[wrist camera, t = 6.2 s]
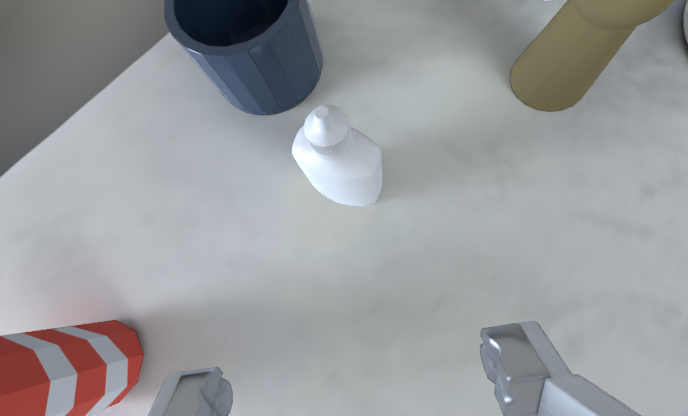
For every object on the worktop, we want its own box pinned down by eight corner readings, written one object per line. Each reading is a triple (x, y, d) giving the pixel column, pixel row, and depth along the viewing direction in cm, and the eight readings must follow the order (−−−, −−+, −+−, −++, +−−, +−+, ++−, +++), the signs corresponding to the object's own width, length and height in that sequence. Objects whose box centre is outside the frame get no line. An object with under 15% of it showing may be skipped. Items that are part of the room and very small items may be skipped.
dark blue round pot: (315, 10, 31) (293, -79, 24) (329, 103, 29) (310, 37, 21) (215, 33, 32) (162, -46, 24) (221, 125, 30) (164, 69, 22)
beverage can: (124, 417, 25) (-101, 535, 13) (63, 379, 26) (-192, 456, 15) (162, 341, 26) (-17, 388, 14) (101, 307, 27) (-108, 326, 16)
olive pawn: (554, 35, 28) (661, -118, 17) (604, 87, 26) (753, -46, 16) (495, 71, 28) (564, -61, 17) (541, 124, 26) (648, 17, 16)
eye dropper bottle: (344, 145, 28) (317, 48, 16) (390, 190, 26) (396, 119, 15) (307, 179, 28) (251, 104, 16) (351, 226, 26) (325, 182, 15)
